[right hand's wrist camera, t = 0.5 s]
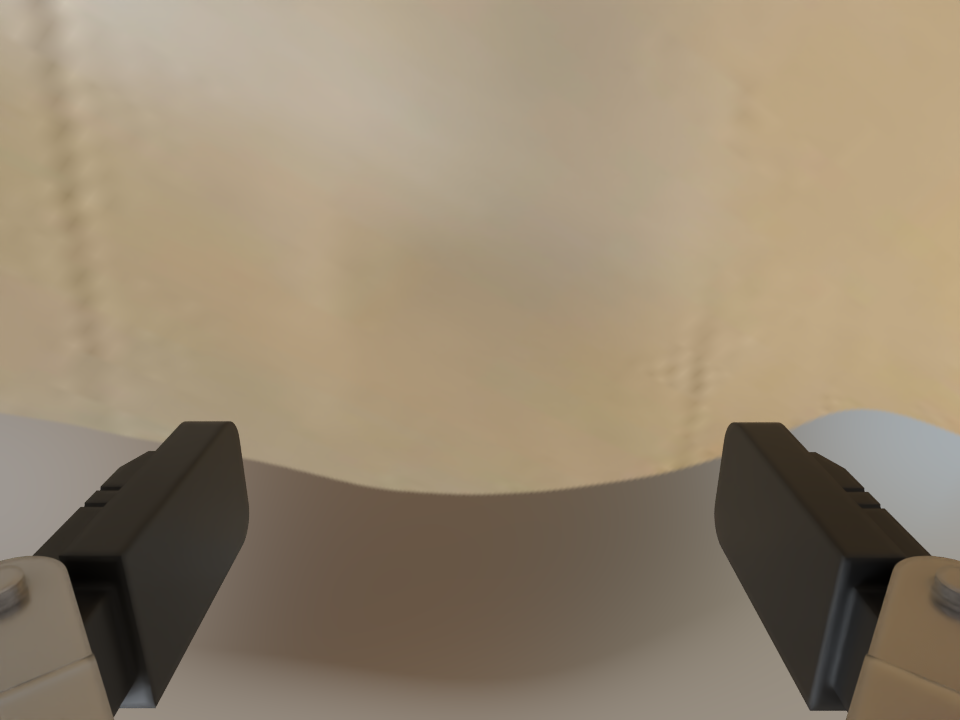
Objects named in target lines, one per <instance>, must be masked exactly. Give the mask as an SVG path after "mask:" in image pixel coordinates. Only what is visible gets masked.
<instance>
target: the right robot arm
mask: <svg viewBox="0 0 960 720" xmlns="http://www.w3.org/2000/svg"><path fill="white" fill-rule="evenodd" d="M714 514H715V527H716V533H717V537H718V540H719V543H720V545H721V547H722V549H723V551H724V553H725V555H726V556H727V558H728V560H729V562H730V564H731V566H732V568H733V569H734V571H735V573H736V575H737V577H738V579H739V580H740V582H741V584H742V586H743V588H744V590H745V592H746V593H747V595H748V597H749V599H750V601H751V603H752V604H753V606H754V608H755V610H756V612H757V614H758V615H759V617H760V619H761V621H762V623H763V625H764V626H765V628H766V630H767V632H768V634H769V636H770V638H771V639H772V641H773V643H774V645H775V647H776V649H777V651H778V652H779V654H780V656H781V658H782V660H783V662H784V663H785V665H786V667H787V669H788V671H789V673H790V675H791V676H792V678H793V680H794V682H795V684H796V686H797V687H798V689H799V691H800V693H801V695H802V697H803V698H804V700H805V702H806V704H807V706H808V708H809V710H810V711H847V712H848V714H847V718H846V720H960V561H958V560H954V559H949V558H944V557H936V556H931V555H930V554H929V553H928V552H927V551H926V550H925V549H924V548H923V547H922V546H921V545H920V544H919V543H918V542H917V541H916V540H915V539H914V538H913V537H912V536H911V535H910V534H909V533H908V532H907V531H906V530H905V529H904V528H903V527H902V526H901V525H900V524H899V523H898V522H897V521H896V520H895V519H894V518H893V517H892V516H891V515H890V514H889V513H888V512H887V511H886V510H885V509H881V507H880V504H879V502H878V501H877V500H876V499H875V498H873V496H872V495H871V494H870V493H869V492H864V487H863V486H862V485H861V484H860V483H859V482H858V481H857V480H856V479H855V478H854V477H853V476H852V475H851V474H850V473H849V472H848V471H847V470H846V469H844V468H843V467H841V466H839V465H837V464H836V463H834V462H832V461H830V460H828V459H827V458H825V457H823V456H821V455H820V454H818V453H816V452H808V451H807V450H806V448H805V447H804V446H803V445H802V444H801V443H800V442H799V441H798V440H797V439H796V438H795V437H794V436H793V435H792V434H791V432H790V431H789V430H788V429H787V428H786V427H785V426H784V425H783V424H781V423H777V422H733V423H731V424H730V425H729V426H728V428H727V431H726V434H725V439H724V445H723V452H722V459H721V466H720V473H719V480H718V487H717V494H716V501H715V513H714ZM248 523H249V504H248V496H247V489H246V482H245V475H244V468H243V461H242V454H241V446H240V439H239V434H238V430H237V428H236V426H235V424H234V423H233V422H231V421H187V422H183V423H181V424H180V425H179V426H178V427H177V428H176V429H175V431H174V432H173V433H172V434H171V435H170V436H169V437H168V438H167V439H166V440H165V441H164V442H163V443H162V445H161V446H160V447H159V448H158V449H157V450H156V451H148V452H146V453H145V454H143V455H141V456H139V457H137V458H136V459H134V460H132V461H130V462H128V463H127V464H125V465H123V466H121V467H120V468H119V469H118V470H117V471H116V472H115V473H114V474H113V475H112V476H111V477H110V478H109V479H108V480H107V481H106V482H105V483H104V484H103V485H102V486H101V490H100V491H96V492H95V493H94V494H93V495H92V496H91V497H90V498H89V499H88V500H87V501H86V502H85V506H84V507H80V508H79V509H78V510H77V511H76V512H75V513H74V514H73V515H72V516H71V517H70V518H69V519H68V520H67V521H66V522H65V523H64V524H63V525H62V526H61V527H60V528H59V529H58V530H57V531H56V532H55V534H54V535H53V536H52V537H51V538H50V539H49V540H48V541H47V542H46V543H45V544H44V545H43V546H42V547H41V548H40V549H39V550H38V551H37V552H36V553H35V554H34V555H33V556H24V557H16V558H11V559H6V560H2V561H0V720H114V716H115V714H116V712H117V711H118V709H119V708H156V706H157V704H158V702H159V700H160V698H161V697H162V695H163V693H164V691H165V689H166V687H167V685H168V683H169V682H170V680H171V678H172V676H173V674H174V672H175V670H176V668H177V667H178V665H179V663H180V661H181V659H182V657H183V655H184V654H185V652H186V650H187V648H188V646H189V644H190V642H191V640H192V639H193V637H194V635H195V633H196V631H197V629H198V627H199V626H200V624H201V622H202V620H203V618H204V616H205V614H206V612H207V611H208V609H209V607H210V605H211V603H212V601H213V599H214V598H215V596H216V594H217V592H218V590H219V588H220V586H221V584H222V583H223V581H224V579H225V577H226V575H227V573H228V571H229V570H230V568H231V566H232V564H233V562H234V560H235V558H236V556H237V555H238V553H239V551H240V549H241V547H242V545H243V543H244V541H245V538H246V534H247V529H248Z"/></svg>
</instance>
